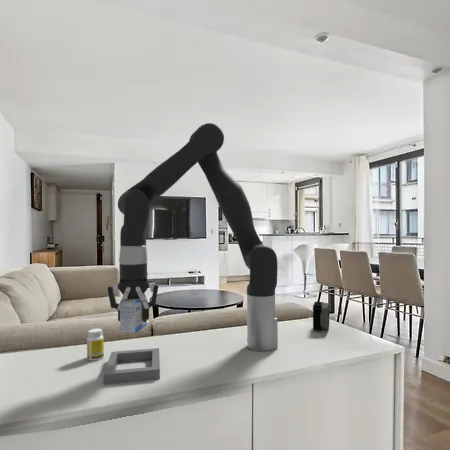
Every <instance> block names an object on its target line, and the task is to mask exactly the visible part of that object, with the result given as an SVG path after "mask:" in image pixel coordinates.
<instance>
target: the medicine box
mask: <svg viewBox="0 0 450 450" xmlns="http://www.w3.org/2000/svg"><path fill="white" fill-rule="evenodd" d="M146 299H147V296H146ZM147 300H148V299H147ZM120 301H121V300H120ZM120 301H119V303H120V322H119V333H121V334H122V333H123V334H133V335H134V334H137V333H139V331H141V330H142V329H143V328H145V327H146V326H147V324H148V323H147V322H144V305H143V303H142V301H141V299H140V298H138V299H136V298H132V299H128V298H127V299H126V300H124V301H121V302H120Z"/></svg>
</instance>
